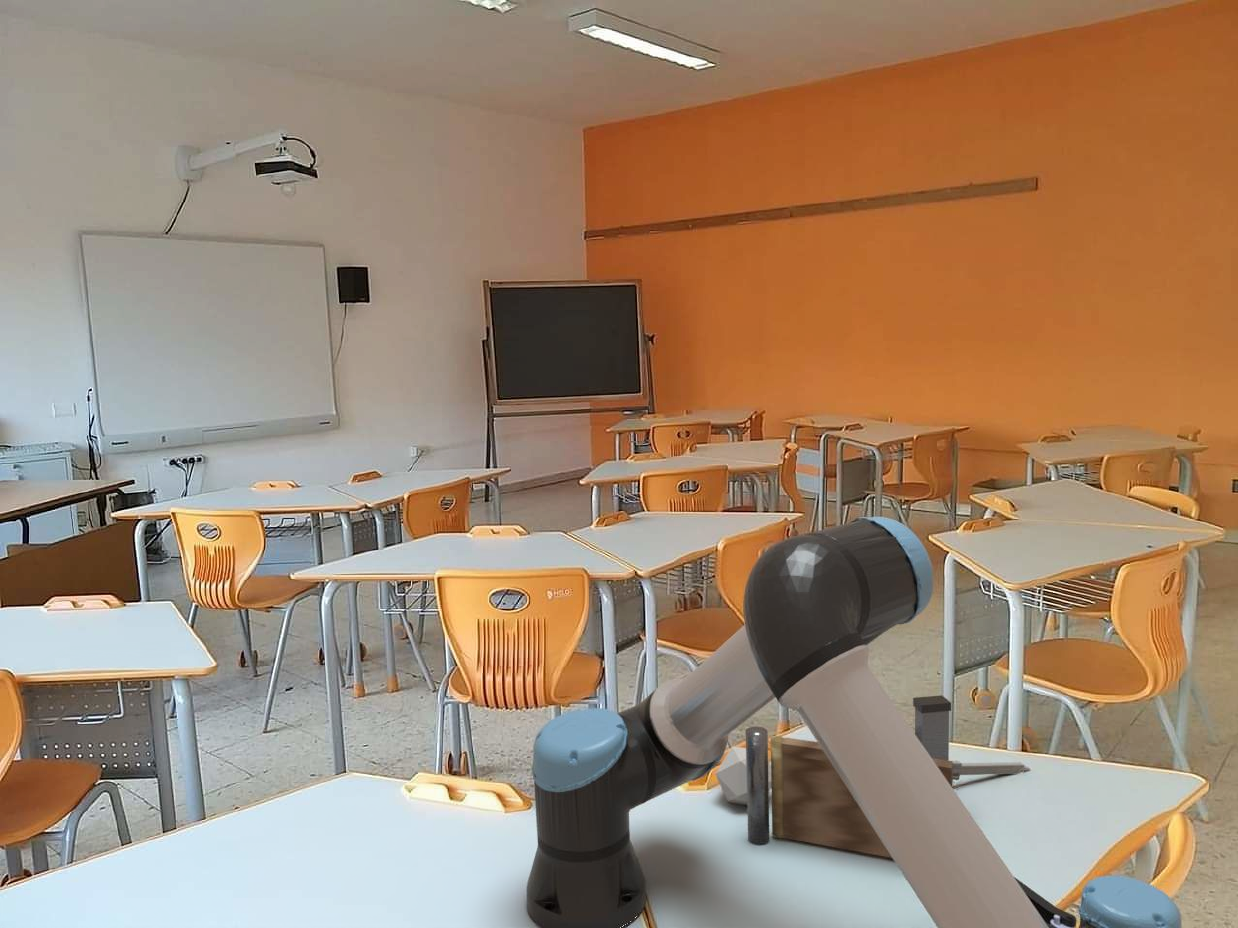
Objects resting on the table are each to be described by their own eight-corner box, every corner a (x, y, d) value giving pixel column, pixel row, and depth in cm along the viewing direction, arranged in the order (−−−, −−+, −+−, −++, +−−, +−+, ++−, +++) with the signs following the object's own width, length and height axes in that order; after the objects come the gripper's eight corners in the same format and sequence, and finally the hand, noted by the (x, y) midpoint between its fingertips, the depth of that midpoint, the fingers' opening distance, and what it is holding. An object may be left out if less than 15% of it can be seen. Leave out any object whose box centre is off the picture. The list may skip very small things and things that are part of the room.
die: (783, 796, 142) (755, 737, 146) (786, 794, 134) (757, 732, 138) (735, 819, 142) (708, 759, 145) (735, 818, 134) (707, 755, 137)
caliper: (921, 798, 139) (922, 758, 138) (917, 795, 140) (917, 755, 139) (1030, 771, 146) (1031, 733, 145) (1025, 768, 147) (1026, 730, 146)
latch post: (920, 818, 133) (921, 705, 130) (912, 808, 136) (913, 697, 133) (949, 815, 133) (951, 702, 131) (941, 806, 136) (942, 695, 134)
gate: (770, 835, 129) (768, 741, 127) (774, 828, 131) (772, 735, 129) (950, 869, 119) (951, 767, 117) (951, 861, 121) (952, 761, 119)
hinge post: (750, 845, 128) (748, 736, 125) (745, 834, 130) (743, 727, 128) (772, 843, 128) (770, 734, 126) (766, 832, 131) (764, 725, 129)
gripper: (995, 1025, 89) (896, 883, 112) (1121, 1010, 90) (998, 872, 114) (996, 954, 88) (896, 826, 111) (1124, 940, 89) (999, 816, 113)
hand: (948, 849), depth 112 cm, fingers closed
